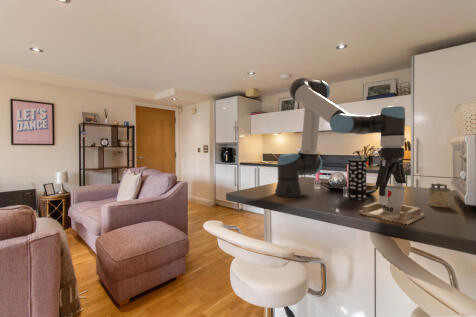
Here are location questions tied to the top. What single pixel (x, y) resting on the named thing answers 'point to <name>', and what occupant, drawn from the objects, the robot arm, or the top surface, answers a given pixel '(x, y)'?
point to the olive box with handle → (439, 196)
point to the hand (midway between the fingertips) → (391, 201)
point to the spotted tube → (357, 179)
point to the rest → (404, 217)
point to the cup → (394, 199)
